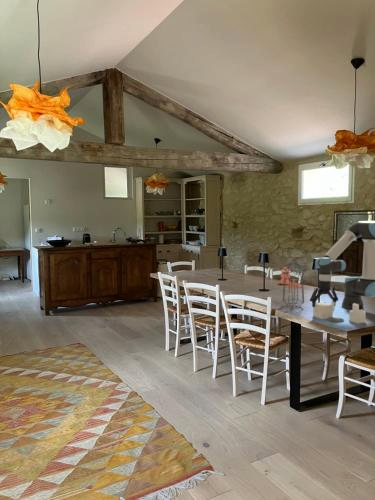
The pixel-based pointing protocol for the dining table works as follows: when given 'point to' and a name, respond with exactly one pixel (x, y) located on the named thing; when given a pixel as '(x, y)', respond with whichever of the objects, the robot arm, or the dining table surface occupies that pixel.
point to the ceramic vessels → (288, 280)
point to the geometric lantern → (293, 280)
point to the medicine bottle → (357, 314)
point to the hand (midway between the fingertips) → (323, 311)
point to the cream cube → (323, 311)
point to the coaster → (335, 319)
